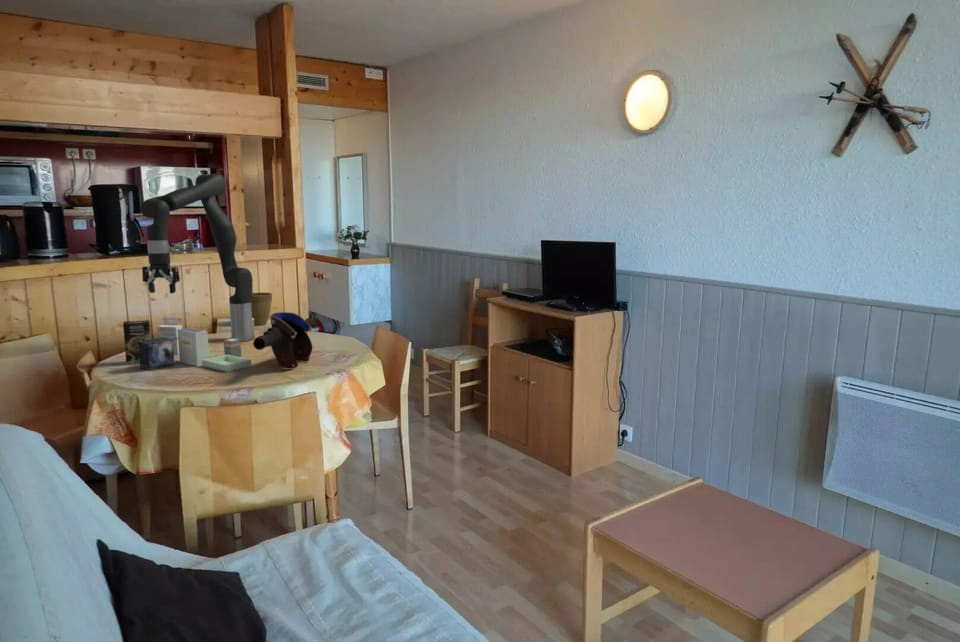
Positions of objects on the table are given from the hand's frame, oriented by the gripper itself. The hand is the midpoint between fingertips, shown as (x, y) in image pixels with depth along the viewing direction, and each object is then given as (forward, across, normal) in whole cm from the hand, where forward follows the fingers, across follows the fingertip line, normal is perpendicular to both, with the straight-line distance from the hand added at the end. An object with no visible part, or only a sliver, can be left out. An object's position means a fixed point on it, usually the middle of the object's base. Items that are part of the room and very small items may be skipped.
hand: (162, 292), depth 251 cm
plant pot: (+28, 0, -77) cm, 82 cm away
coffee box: (+27, +7, +8) cm, 29 cm away
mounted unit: (+26, -15, +6) cm, 31 cm away
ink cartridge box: (+27, +4, -8) cm, 28 cm away
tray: (+26, -30, +9) cm, 41 cm away
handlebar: (+27, -52, +2) cm, 59 cm away
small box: (+27, -5, +14) cm, 30 cm away
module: (+27, -24, -7) cm, 37 cm away
